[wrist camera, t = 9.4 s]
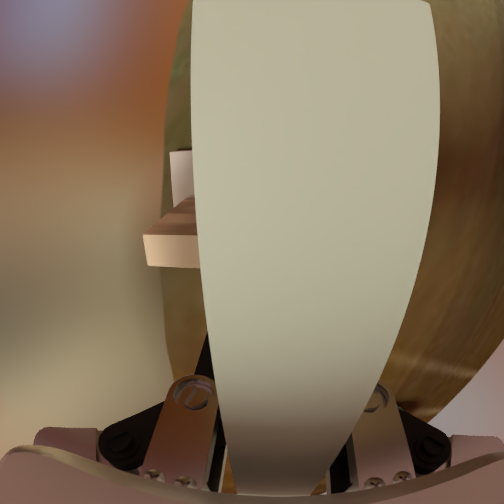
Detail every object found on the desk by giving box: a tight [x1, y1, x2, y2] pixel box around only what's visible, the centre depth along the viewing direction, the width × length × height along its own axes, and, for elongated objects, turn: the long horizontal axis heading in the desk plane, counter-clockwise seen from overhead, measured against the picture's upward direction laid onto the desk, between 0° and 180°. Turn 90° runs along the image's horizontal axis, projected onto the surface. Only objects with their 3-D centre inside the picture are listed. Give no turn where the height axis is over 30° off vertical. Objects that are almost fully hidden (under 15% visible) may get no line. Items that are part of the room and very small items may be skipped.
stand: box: [143, 150, 200, 268], centre depth 19 cm, size 18×10×9 cm, turn 90°
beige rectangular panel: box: [191, 0, 440, 497], centre depth 11 cm, size 2×16×14 cm, turn 0°
